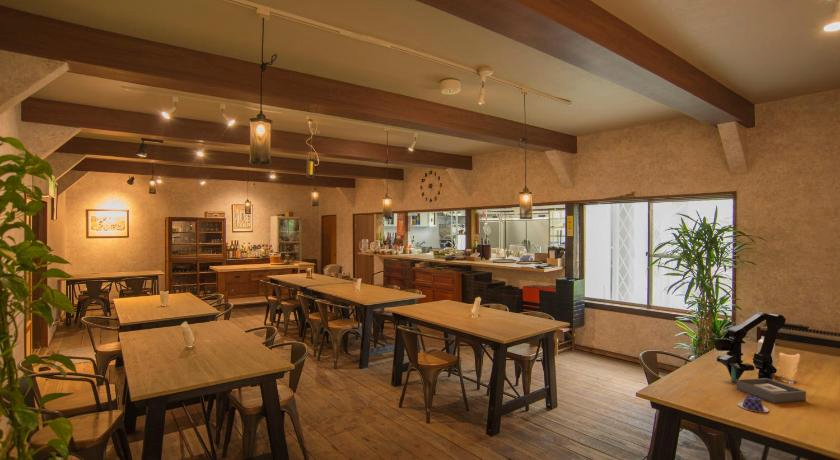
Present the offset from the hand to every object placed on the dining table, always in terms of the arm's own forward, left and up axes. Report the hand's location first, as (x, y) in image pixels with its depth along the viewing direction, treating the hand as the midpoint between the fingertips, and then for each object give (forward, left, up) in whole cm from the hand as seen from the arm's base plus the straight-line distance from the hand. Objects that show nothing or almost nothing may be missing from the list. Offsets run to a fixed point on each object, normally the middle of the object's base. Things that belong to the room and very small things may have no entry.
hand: (734, 378), depth 245 cm
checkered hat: (+25, +32, -3) cm, 41 cm away
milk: (-33, -9, -2) cm, 34 cm away
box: (0, +20, -2) cm, 20 cm away
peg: (0, 0, -2) cm, 2 cm away
